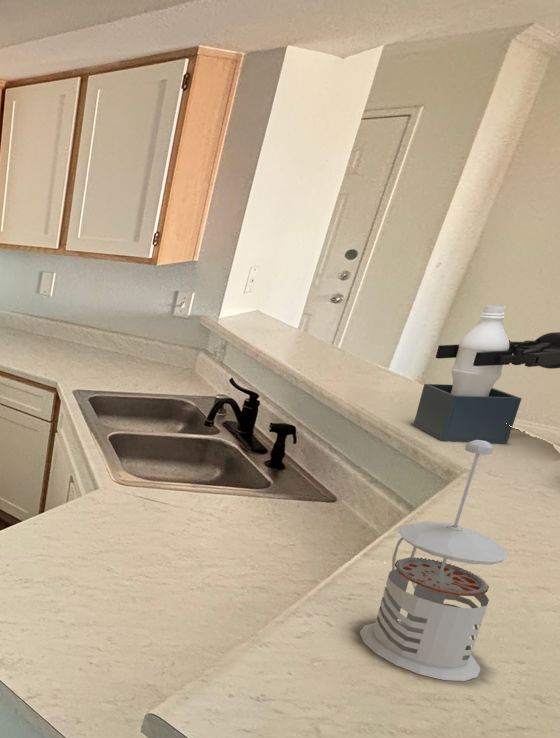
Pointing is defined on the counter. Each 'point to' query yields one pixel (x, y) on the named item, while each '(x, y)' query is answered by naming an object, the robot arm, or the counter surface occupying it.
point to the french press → (435, 597)
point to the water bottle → (480, 339)
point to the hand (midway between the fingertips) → (457, 355)
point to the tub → (466, 415)
